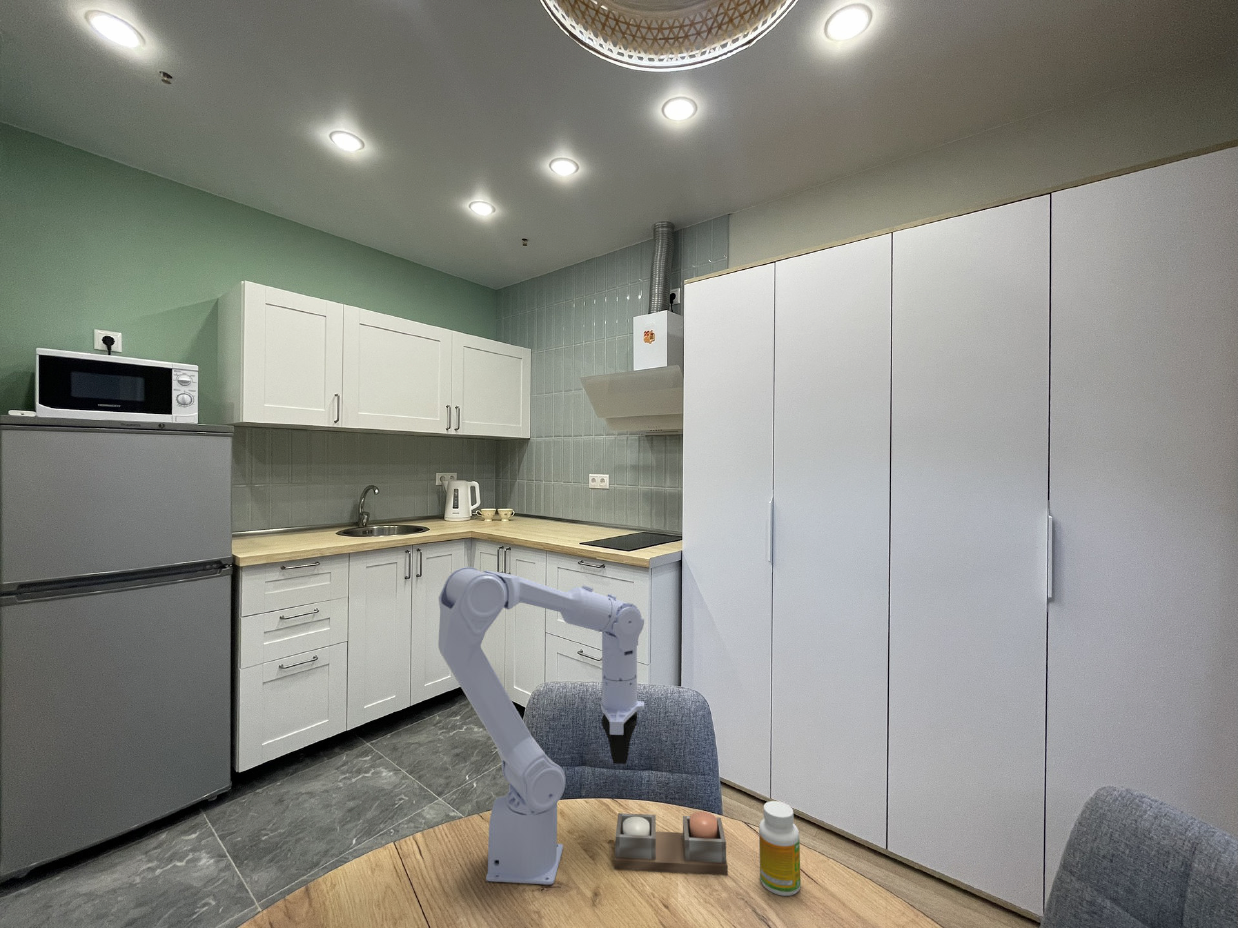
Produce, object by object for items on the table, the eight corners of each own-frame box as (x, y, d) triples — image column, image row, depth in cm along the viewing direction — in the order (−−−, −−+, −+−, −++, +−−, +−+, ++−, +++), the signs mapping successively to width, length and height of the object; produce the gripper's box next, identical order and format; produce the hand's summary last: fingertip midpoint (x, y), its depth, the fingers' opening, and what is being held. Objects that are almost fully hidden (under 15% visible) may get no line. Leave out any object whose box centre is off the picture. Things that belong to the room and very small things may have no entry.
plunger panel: (614, 869, 74) (614, 839, 74) (617, 837, 81) (617, 810, 81) (727, 874, 73) (727, 844, 73) (721, 842, 80) (721, 815, 80)
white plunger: (621, 849, 75) (622, 832, 76) (623, 832, 79) (623, 816, 80) (649, 851, 75) (649, 833, 75) (649, 833, 79) (649, 817, 79)
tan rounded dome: (690, 844, 75) (690, 827, 75) (689, 827, 79) (689, 810, 79) (718, 845, 75) (718, 828, 75) (715, 828, 79) (715, 812, 79)
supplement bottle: (803, 900, 68) (801, 822, 69) (761, 894, 69) (759, 817, 70) (797, 872, 73) (796, 800, 74) (758, 866, 74) (757, 796, 75)
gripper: (642, 691, 77) (643, 786, 76) (644, 662, 92) (645, 741, 91) (595, 690, 78) (596, 785, 77) (605, 661, 92) (605, 740, 91)
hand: (619, 761), depth 84 cm, fingers closed
